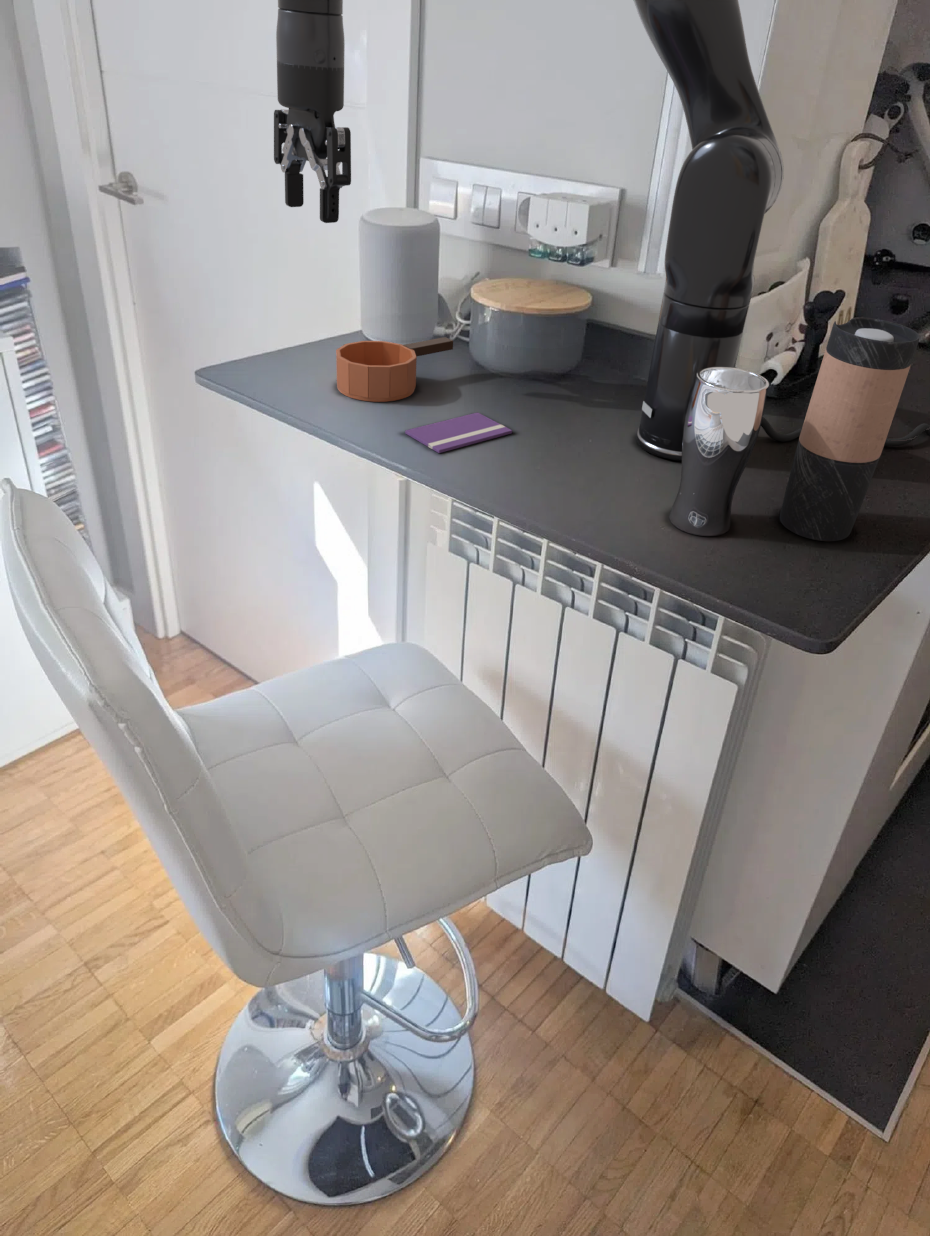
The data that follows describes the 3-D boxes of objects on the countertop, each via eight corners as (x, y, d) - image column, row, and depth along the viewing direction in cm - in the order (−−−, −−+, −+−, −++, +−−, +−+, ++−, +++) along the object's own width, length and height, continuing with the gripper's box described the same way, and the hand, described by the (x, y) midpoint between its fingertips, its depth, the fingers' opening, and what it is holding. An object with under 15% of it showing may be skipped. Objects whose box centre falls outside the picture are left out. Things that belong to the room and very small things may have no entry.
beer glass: (682, 499, 96) (712, 360, 88) (744, 521, 93) (782, 378, 84) (652, 523, 91) (682, 377, 83) (717, 546, 88) (755, 398, 80)
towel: (477, 415, 112) (477, 412, 112) (512, 433, 108) (512, 430, 108) (405, 433, 106) (405, 430, 106) (439, 453, 102) (439, 450, 102)
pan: (425, 361, 127) (426, 328, 125) (470, 383, 121) (473, 349, 118) (322, 382, 118) (321, 347, 115) (365, 407, 112) (365, 370, 109)
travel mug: (858, 548, 90) (930, 347, 78) (779, 536, 91) (838, 336, 79) (847, 513, 96) (912, 322, 84) (773, 502, 97) (827, 312, 86)
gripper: (373, 69, 100) (368, 226, 109) (308, 53, 108) (309, 199, 118) (313, 66, 96) (313, 229, 105) (250, 50, 104) (256, 202, 114)
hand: (311, 213), depth 111 cm, fingers open, 8 cm apart
